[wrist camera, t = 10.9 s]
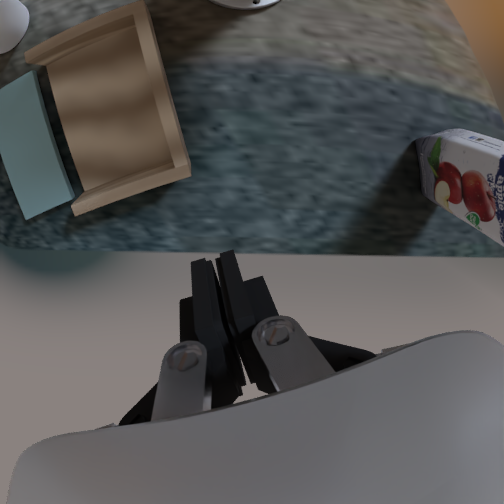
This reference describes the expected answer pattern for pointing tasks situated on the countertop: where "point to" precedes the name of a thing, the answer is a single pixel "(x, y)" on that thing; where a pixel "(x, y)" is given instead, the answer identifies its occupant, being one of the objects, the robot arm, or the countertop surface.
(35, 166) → the panel
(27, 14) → the cup
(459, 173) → the juice carton
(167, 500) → the robot arm
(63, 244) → the countertop surface
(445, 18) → the countertop surface
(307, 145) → the countertop surface
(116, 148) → the crate
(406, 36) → the countertop surface
